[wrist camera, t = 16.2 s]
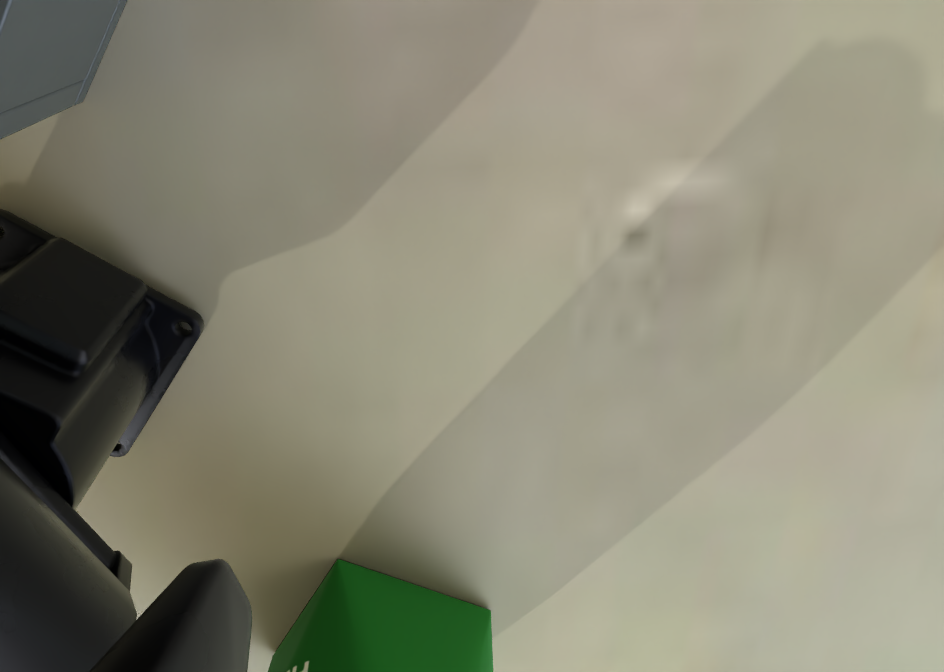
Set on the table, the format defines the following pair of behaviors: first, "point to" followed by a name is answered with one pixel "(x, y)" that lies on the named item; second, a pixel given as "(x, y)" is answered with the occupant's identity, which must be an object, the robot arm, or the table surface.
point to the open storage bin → (50, 55)
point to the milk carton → (384, 628)
